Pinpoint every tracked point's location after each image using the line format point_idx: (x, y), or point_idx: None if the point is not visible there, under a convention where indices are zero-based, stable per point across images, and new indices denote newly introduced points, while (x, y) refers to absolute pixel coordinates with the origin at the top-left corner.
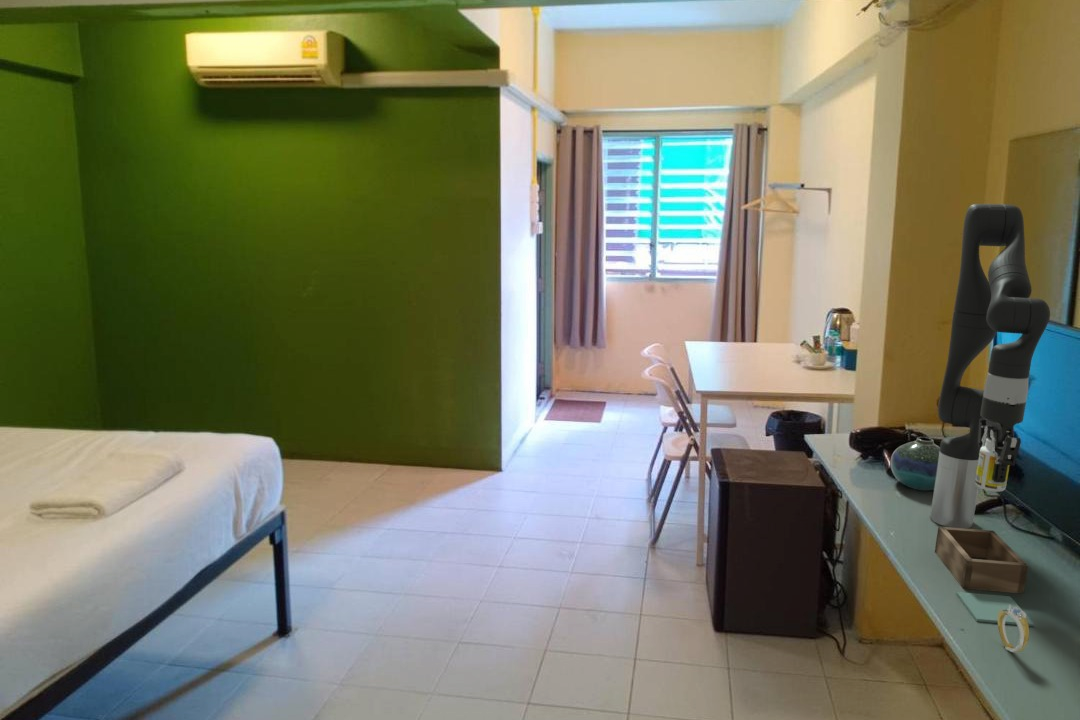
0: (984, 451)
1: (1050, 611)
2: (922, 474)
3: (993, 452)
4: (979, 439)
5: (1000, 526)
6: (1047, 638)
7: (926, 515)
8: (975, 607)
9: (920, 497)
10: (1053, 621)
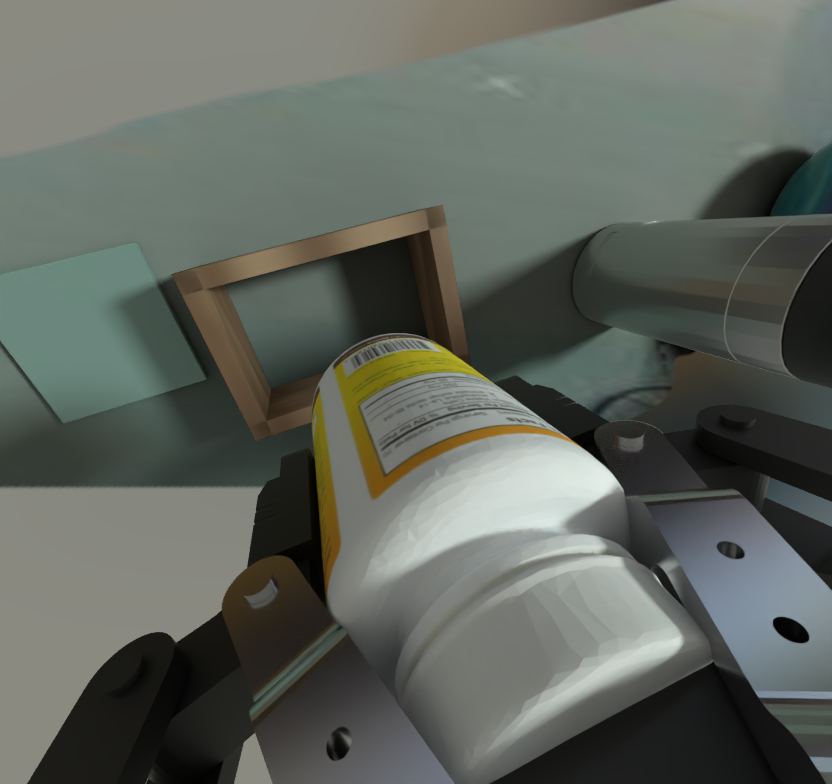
0: (415, 505)
1: (195, 453)
2: (815, 206)
3: (340, 626)
4: (800, 446)
5: (604, 377)
6: (15, 445)
7: (636, 215)
8: (52, 288)
9: (734, 212)
10: (139, 457)
